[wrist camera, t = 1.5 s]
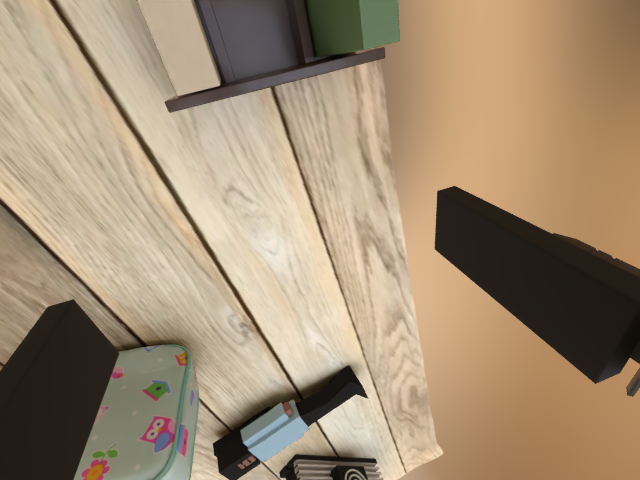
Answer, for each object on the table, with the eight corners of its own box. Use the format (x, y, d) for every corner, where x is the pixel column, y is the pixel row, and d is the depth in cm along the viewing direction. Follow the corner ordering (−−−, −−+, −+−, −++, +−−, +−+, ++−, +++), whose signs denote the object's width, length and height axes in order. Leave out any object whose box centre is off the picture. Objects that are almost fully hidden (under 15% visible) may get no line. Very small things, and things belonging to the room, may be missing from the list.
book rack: (124, -38, 25) (79, -87, 17) (330, -75, 27) (372, -133, 19) (182, 103, 31) (169, 114, 23) (347, 61, 33) (385, 59, 25)
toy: (371, 404, 60) (236, 499, 54) (352, 374, 66) (229, 456, 61) (359, 379, 54) (207, 481, 49) (339, 349, 61) (203, 436, 55)
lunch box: (10, 416, 43) (-140, 660, 25) (-28, 370, 38) (-250, 634, 20) (204, 374, 50) (194, 543, 32) (193, 330, 45) (174, 502, 27)
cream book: (150, -29, 24) (85, -120, 13) (182, -35, 25) (147, -129, 13) (194, 86, 29) (176, 96, 17) (221, 79, 29) (220, 85, 18)
